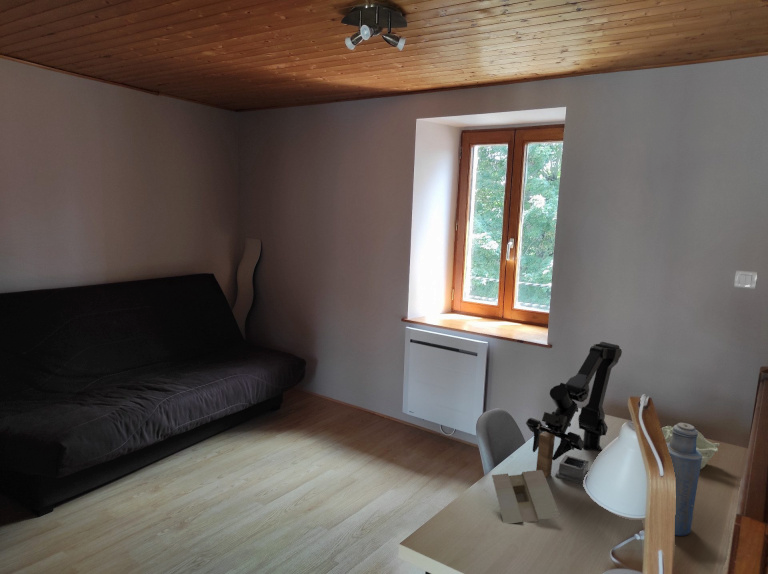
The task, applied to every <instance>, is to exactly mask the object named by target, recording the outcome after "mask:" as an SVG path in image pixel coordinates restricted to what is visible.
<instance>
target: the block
mask: <svg viewBox="0 0 768 574" xmlns="http://www.w3.org/2000/svg"><path fill="white" fill-rule="evenodd" d="M555 438H556V437H555V435H554V434H551V433H548V432H546V431H545V432H543V433H541V434H540V436H539V446H538V448H537V458H536V470H542V471H543V473H544V475H545V478H546V479H547V478H549V477H551V475H552V469H553V468H552V467H553V461H554V460H553V459H552V458H553V456H554V449H555V440H556V439H555ZM536 470H535V471H536Z"/></svg>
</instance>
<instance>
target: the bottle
mask: <svg viewBox="0 0 768 574" xmlns="http://www.w3.org/2000/svg"><path fill="white" fill-rule="evenodd" d="M672 427H673V429H672V431H673V433H672V437H671V440H670V443H666V444H667V447H668V450H669V454H670V456H671V459H672V463H673V467H674V472H675V477H676V515H675V535H674V536H676V537H677V536H679V537H683V536H684V537H685V536H687V535H689V534H690V533H691V531H692V525H693V519H694V509H695V503H696V494H697V490H698V489H697V488H698V483H699V476H700V473H701V469H700V468H701V462H702V454H701V453H700V452H699V451H698V450H696V447H697V445H696V440H697V436H698V431H699V430H697V429H696V427H695V426H694V425H692V424H690V423H686V422H677V424H675V425H673V426H672Z"/></svg>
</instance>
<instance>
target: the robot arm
mask: <svg viewBox="0 0 768 574" xmlns="http://www.w3.org/2000/svg"><path fill="white" fill-rule="evenodd" d="M588 352H589V353H588V355H587V356H586V358H585V360H584V362H583V363H582V365H581V366H580V368H579V370H578V372H577V373H576V375H574V376H571V377H570V378H568V380H567V381H566V382H565V383H563V382H560V384H558V385H555V386H553V387H552V388H551V389H550V390H549V396H550V398H551V400H552V403H554V405H555V407H556V409H555V411H552V412H551V413H550V412H547V411H544V412H543V415H542V419H541V421H540V420H539V419H535V418H533V417H529V418H528V419H527V420H526V422H525V424H526V426H527V428H528V429H529V430H530V432H532V433H533V444H532V452H533V453H535V452H536V451H538V446H539V436H540V434H541V433H543V432H545V431H546V432H548V433H551V434H554V435H555V438H559V439H560V442H559V445H558V447H557V448H556V450H555V452H554V453H553V458H552V459H553V460H552V461H556V460H557V459H559V458H561V456H563V455H564V454H566V453H567V452H570V451H574V450H575V449H576V450H579V451H582V450H583V449H584V450H590V451H600V452H601V451H603V448H602V446H601V445H600V443H601V436H606V435H607V431H608V425H607V423H606V420H605V417H606V414H605V411H604V409H603V405H604V402H605V401H604V400H605V396H606V393H607V388H608V383H609V380H610V377H611V372H612V369H613V368H614V367H615V366H616V365H617V364H618V362H619V360H620V358H621V356H622V353H623V352H622V349H621V347H620V345H618V344H613V343H610V342H605V341H600V342H599V343H595V344H594V343H593V345H592V346H591V347H590V349H589V351H588ZM594 375H595V376H594ZM593 378H594V380H593V383H592V388H591V390H590V385H589V384H590V383H591V380H592V379H593ZM590 391H591V392H590ZM589 393H590V395H589ZM588 397H589V399H588ZM587 399H588V403H587V404H586V405H585V406H582V407H581V409H580V414H579V416H578V421H577V422H578V429H579V430H583V439H582V436H580V434H578V433H575V432H572V431H569V432H567V430H568V428H571V426H572V423H571V422H572V419H573V418H574V416H575V414H576V413H579V406H578V404H577V403H576V402H579V403H582V402H583V403H584V402H585V400H587ZM542 422H544V424H545V425H546V426H545V425H543V424H542ZM566 432H567V433H566Z"/></svg>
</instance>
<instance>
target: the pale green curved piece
mask: <svg viewBox="0 0 768 574" xmlns="http://www.w3.org/2000/svg"><path fill="white" fill-rule="evenodd" d="M673 427H674V426H671V425H667V426H663V427H662V428H661V429H662V431H663V434H664V437H665V439H666V442H667V443H670V440H671V437H672V433H673V431H672V429H673ZM697 431H698V436H697V440H696V445H697V447H696V450H698V451H699V452H700V453H701V454H702V462H701V468H700V470H702V469H703V468H705V466H706V465H707V463H708V461H709V460H711V459H712V458H713V456H714V455H715V453H718V452H719V448H718V447H719V446H720V445H721V443H718V442H715V443H714V442H711V441H709V440H707V438H705V436H704V435H703V434H702V433H701V432H699V430H697Z"/></svg>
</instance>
